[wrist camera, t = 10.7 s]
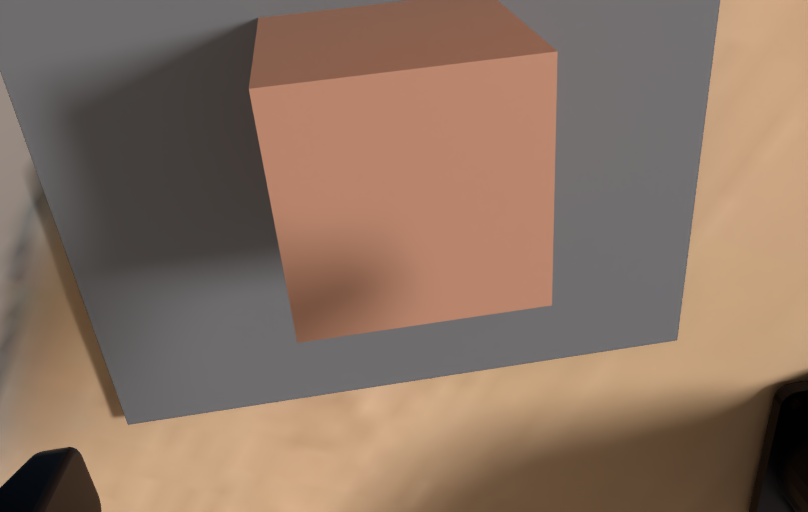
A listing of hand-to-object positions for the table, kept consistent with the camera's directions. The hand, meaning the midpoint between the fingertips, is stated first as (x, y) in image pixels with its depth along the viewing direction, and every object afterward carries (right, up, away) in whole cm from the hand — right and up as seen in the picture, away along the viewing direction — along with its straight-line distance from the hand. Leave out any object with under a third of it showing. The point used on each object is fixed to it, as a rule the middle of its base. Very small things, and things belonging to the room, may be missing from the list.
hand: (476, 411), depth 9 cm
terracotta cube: (-1, +5, +9) cm, 10 cm away
